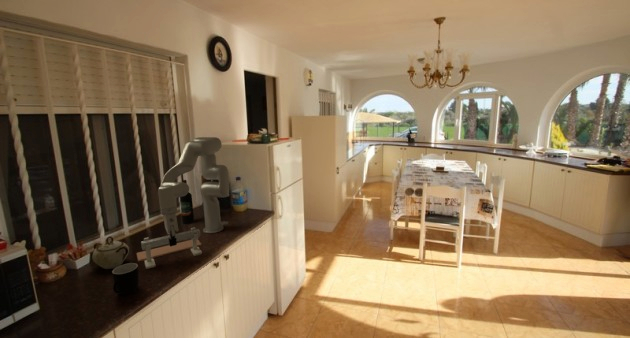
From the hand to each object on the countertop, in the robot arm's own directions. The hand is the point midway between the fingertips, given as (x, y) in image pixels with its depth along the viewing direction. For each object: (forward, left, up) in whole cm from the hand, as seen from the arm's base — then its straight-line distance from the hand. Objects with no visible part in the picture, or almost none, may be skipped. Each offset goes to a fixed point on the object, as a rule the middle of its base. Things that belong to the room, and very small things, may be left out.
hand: (172, 243), depth 149 cm
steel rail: (0, 0, +1) cm, 1 cm away
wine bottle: (-18, -52, -8) cm, 56 cm away
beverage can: (-33, -57, -8) cm, 66 cm away
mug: (+22, +21, -8) cm, 31 cm away
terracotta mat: (0, -12, -8) cm, 14 cm away
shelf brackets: (0, 0, -8) cm, 8 cm away
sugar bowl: (+26, -11, -8) cm, 29 cm away
